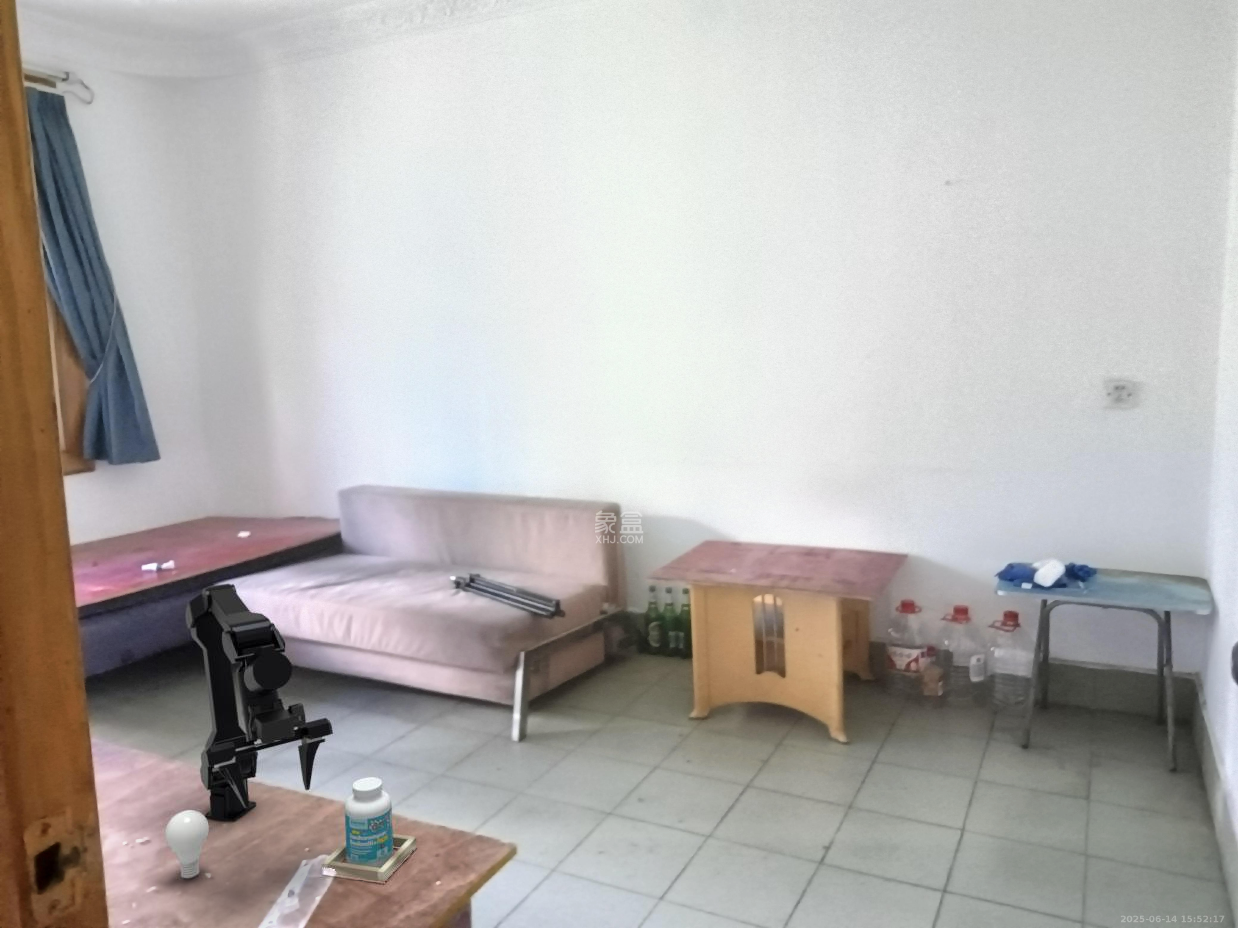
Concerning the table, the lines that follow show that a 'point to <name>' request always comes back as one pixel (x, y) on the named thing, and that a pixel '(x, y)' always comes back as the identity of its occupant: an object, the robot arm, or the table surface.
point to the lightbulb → (187, 839)
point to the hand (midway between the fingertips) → (277, 798)
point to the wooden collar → (365, 871)
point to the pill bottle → (368, 824)
